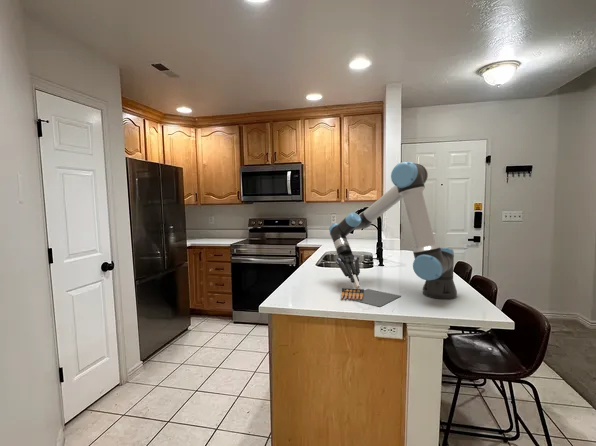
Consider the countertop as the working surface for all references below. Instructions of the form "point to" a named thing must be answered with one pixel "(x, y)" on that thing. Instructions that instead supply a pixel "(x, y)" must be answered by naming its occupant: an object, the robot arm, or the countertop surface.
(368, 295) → the rubber mat
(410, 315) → the countertop surface
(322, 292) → the countertop surface
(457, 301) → the countertop surface
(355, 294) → the ammunition clip
